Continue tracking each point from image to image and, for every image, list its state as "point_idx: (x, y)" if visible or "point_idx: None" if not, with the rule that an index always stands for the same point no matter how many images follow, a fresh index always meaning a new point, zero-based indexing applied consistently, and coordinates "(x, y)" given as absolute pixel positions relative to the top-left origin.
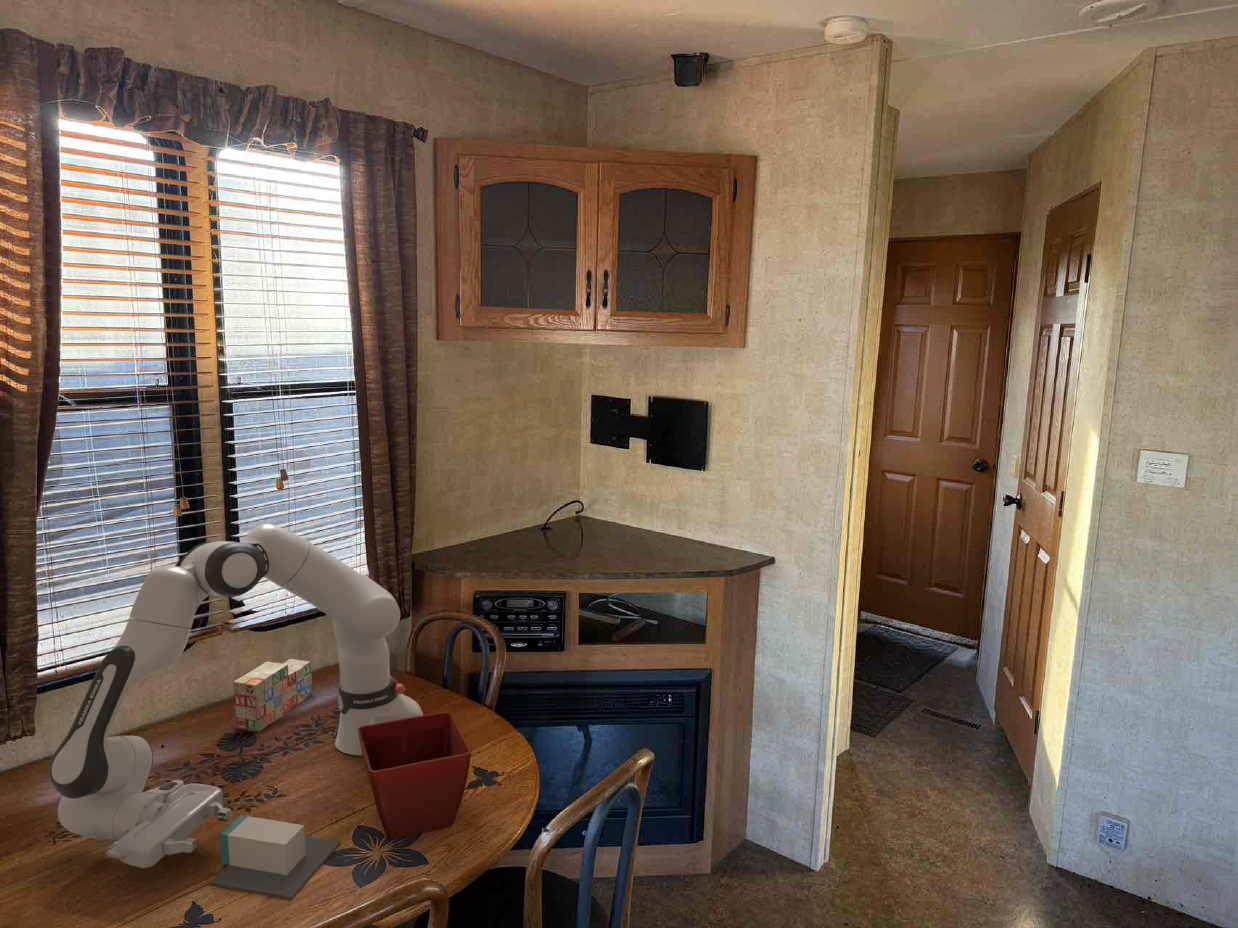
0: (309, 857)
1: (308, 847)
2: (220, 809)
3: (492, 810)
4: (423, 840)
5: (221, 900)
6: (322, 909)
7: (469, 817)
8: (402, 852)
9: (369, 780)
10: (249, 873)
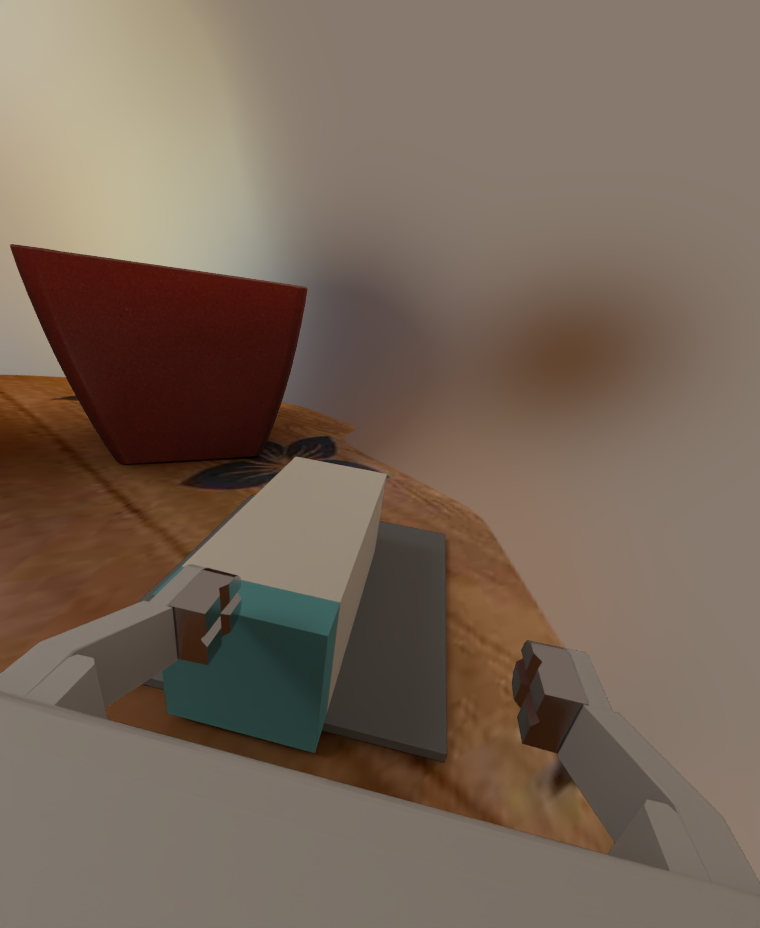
0: None
1: None
2: (174, 607)
3: None
4: (270, 436)
5: (503, 678)
6: (453, 504)
7: None
8: (298, 449)
9: (126, 392)
10: (375, 629)
